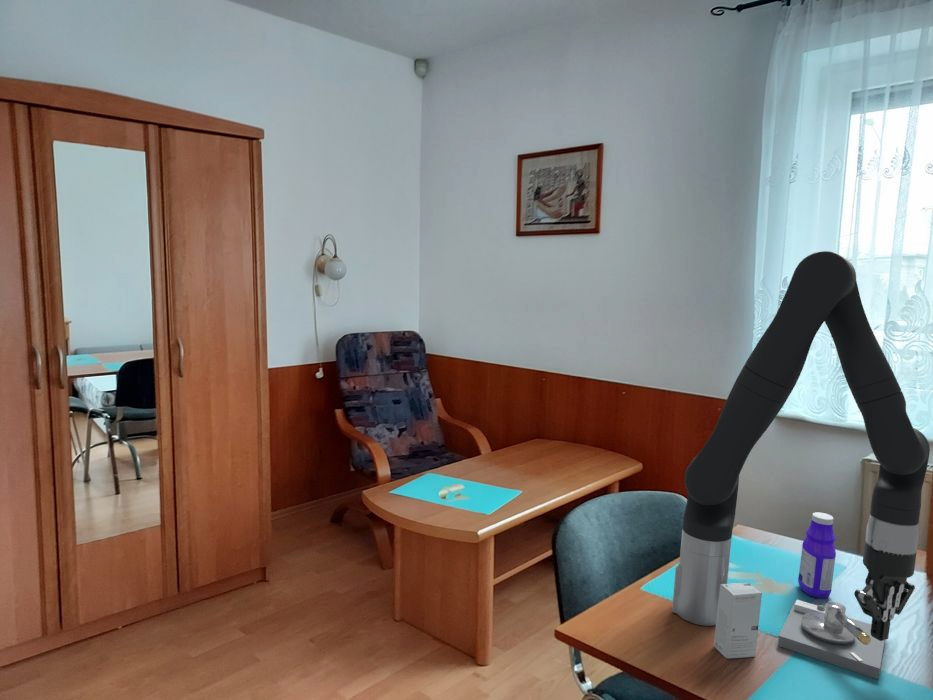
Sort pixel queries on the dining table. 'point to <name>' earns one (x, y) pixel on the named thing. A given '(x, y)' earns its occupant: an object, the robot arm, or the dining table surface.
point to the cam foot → (833, 626)
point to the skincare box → (737, 620)
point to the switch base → (845, 656)
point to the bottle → (818, 557)
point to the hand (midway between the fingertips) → (878, 637)
